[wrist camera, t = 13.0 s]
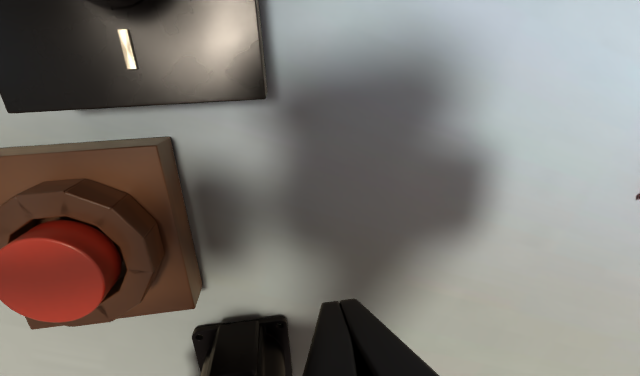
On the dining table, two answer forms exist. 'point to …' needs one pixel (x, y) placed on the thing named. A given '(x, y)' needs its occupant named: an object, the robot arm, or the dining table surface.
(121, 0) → the knob
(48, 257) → the red push button
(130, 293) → the button block
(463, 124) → the dining table surface
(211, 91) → the panel
